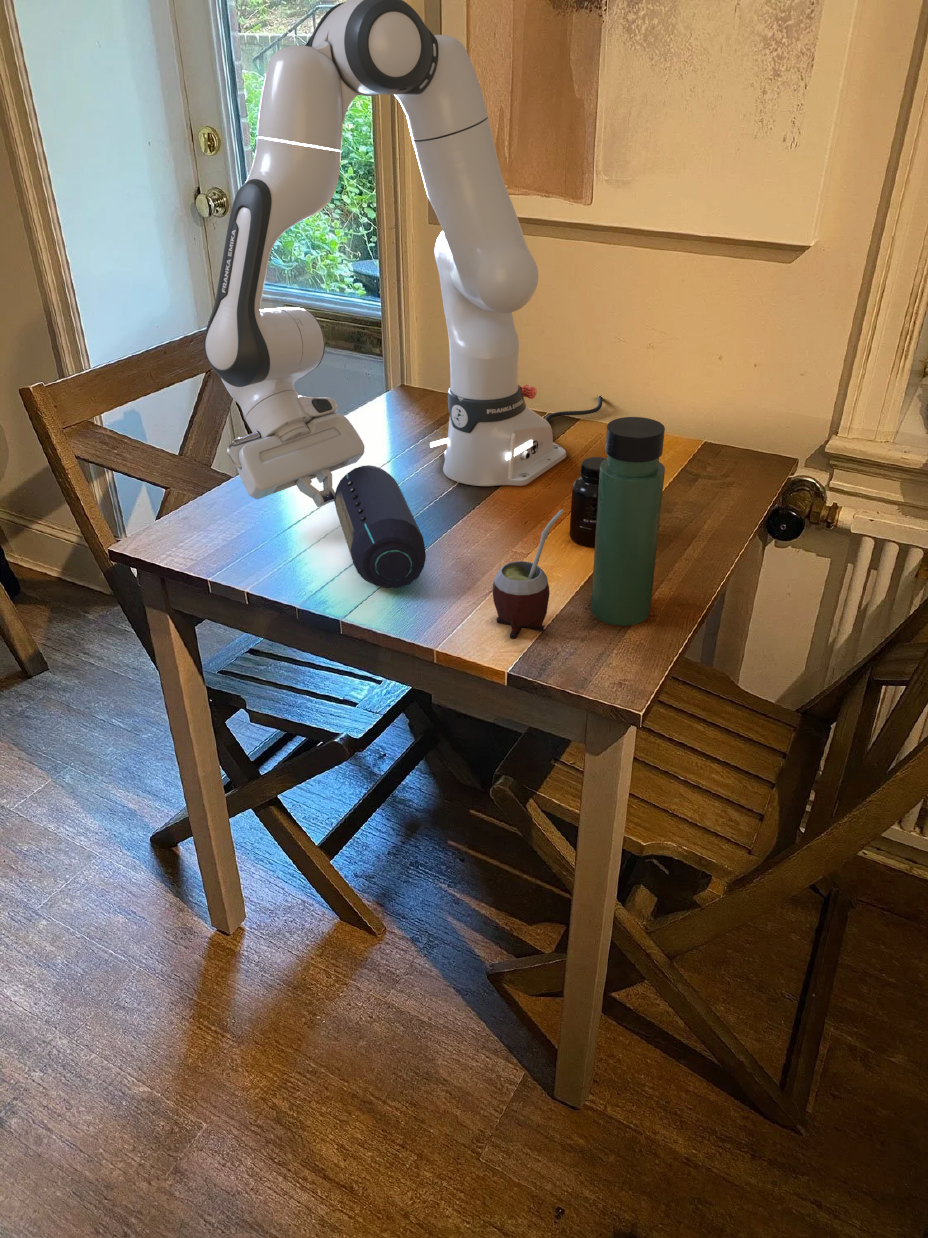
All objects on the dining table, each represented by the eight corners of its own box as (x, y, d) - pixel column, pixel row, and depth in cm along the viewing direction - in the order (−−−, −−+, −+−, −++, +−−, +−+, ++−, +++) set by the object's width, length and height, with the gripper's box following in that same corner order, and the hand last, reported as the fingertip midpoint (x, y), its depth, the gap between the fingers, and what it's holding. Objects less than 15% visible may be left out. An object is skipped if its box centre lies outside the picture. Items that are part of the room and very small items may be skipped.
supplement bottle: (586, 553, 135) (590, 476, 128) (560, 534, 140) (563, 459, 133) (625, 542, 137) (631, 466, 131) (598, 524, 142) (603, 449, 136)
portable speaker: (333, 521, 145) (327, 461, 139) (397, 513, 147) (393, 453, 141) (359, 604, 124) (353, 537, 119) (433, 593, 126) (430, 527, 121)
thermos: (614, 588, 126) (629, 410, 113) (661, 609, 122) (682, 426, 108) (578, 610, 122) (589, 427, 108) (626, 632, 117) (643, 444, 104)
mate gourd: (484, 635, 118) (484, 528, 109) (505, 603, 124) (506, 500, 116) (542, 646, 115) (545, 537, 107) (559, 613, 121) (564, 508, 113)
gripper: (227, 432, 132) (276, 516, 131) (342, 395, 144) (387, 472, 143) (215, 453, 137) (263, 534, 137) (327, 416, 149) (371, 490, 148)
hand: (327, 502), depth 140 cm, fingers closed
